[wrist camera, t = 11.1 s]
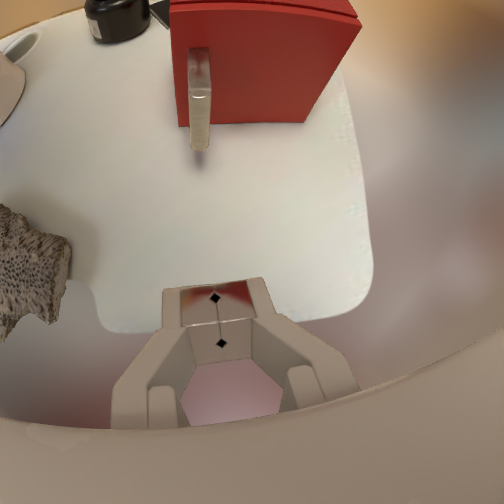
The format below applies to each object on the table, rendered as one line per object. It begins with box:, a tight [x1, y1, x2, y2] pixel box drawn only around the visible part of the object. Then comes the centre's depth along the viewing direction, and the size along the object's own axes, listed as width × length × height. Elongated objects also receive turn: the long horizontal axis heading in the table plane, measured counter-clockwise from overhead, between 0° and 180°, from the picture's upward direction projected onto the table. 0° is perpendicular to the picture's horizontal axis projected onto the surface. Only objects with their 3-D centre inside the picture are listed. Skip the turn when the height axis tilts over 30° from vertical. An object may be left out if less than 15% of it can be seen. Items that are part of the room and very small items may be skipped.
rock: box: [0, 204, 71, 342], centre depth 22 cm, size 15×16×5 cm
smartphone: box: [149, 0, 170, 28], centre depth 33 cm, size 8×1×16 cm
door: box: [169, 3, 362, 151], centre depth 22 cm, size 6×14×16 cm, turn 97°
